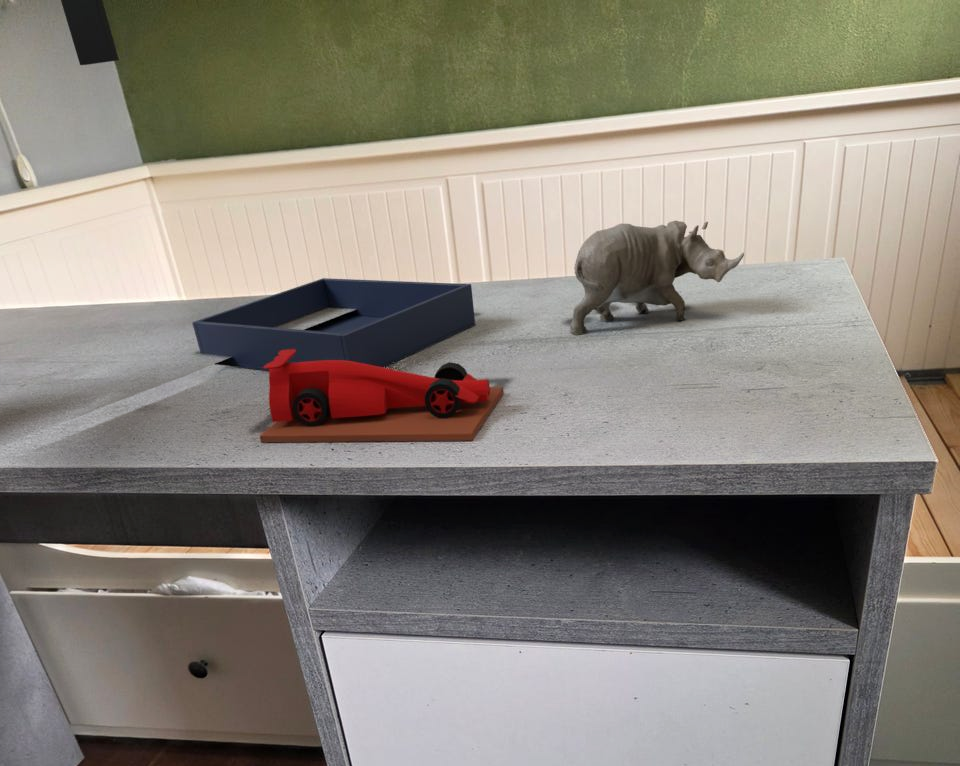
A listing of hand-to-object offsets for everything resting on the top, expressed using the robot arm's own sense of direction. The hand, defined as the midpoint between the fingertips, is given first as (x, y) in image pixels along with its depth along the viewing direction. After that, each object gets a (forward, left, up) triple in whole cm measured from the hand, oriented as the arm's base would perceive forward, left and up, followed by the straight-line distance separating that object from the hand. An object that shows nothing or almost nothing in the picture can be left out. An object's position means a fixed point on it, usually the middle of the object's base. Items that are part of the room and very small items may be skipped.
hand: (37, 66), depth 56 cm
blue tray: (-9, +31, -27) cm, 42 cm away
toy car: (+12, +14, -26) cm, 32 cm away
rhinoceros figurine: (+20, +47, -27) cm, 58 cm away
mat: (+12, +14, -27) cm, 32 cm away
